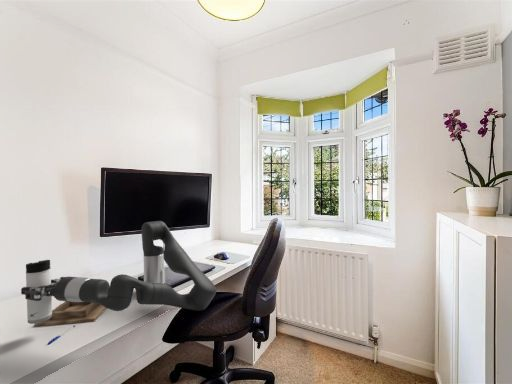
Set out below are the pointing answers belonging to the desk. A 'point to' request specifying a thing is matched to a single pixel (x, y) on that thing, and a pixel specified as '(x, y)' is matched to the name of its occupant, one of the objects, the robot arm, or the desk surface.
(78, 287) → the robot arm
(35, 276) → the travel mug
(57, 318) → the mug holder
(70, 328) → the ballpoint pen
